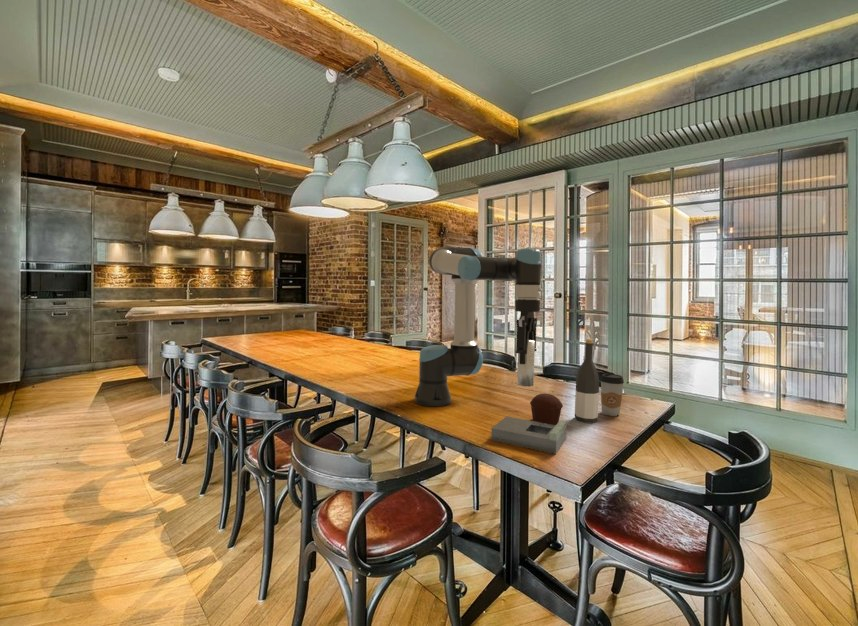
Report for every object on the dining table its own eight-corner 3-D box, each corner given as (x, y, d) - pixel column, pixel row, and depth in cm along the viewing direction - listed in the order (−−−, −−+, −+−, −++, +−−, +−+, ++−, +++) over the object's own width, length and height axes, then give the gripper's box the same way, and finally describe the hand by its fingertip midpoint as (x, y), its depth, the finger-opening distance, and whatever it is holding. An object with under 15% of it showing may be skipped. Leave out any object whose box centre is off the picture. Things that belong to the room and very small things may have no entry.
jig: (491, 440, 129) (491, 421, 129) (506, 427, 142) (506, 410, 141) (555, 454, 120) (556, 434, 119) (566, 439, 132) (566, 421, 131)
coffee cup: (599, 415, 158) (601, 376, 157) (598, 409, 165) (600, 372, 164) (623, 418, 155) (625, 378, 154) (621, 412, 162) (623, 374, 161)
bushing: (515, 385, 129) (516, 340, 128) (520, 382, 133) (521, 338, 132) (530, 387, 126) (532, 341, 125) (535, 384, 130) (536, 339, 130)
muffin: (523, 418, 152) (523, 392, 151) (546, 415, 156) (547, 389, 156) (544, 429, 141) (545, 400, 140) (569, 425, 146) (570, 397, 145)
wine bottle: (583, 423, 147) (586, 340, 145) (569, 416, 155) (573, 337, 153) (602, 422, 149) (606, 340, 148) (588, 415, 157) (591, 337, 155)
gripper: (530, 299, 119) (528, 379, 120) (547, 299, 134) (545, 369, 135) (505, 298, 122) (504, 376, 124) (525, 298, 138) (523, 367, 139)
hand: (525, 372), depth 129 cm, fingers closed on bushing, 5 cm apart
